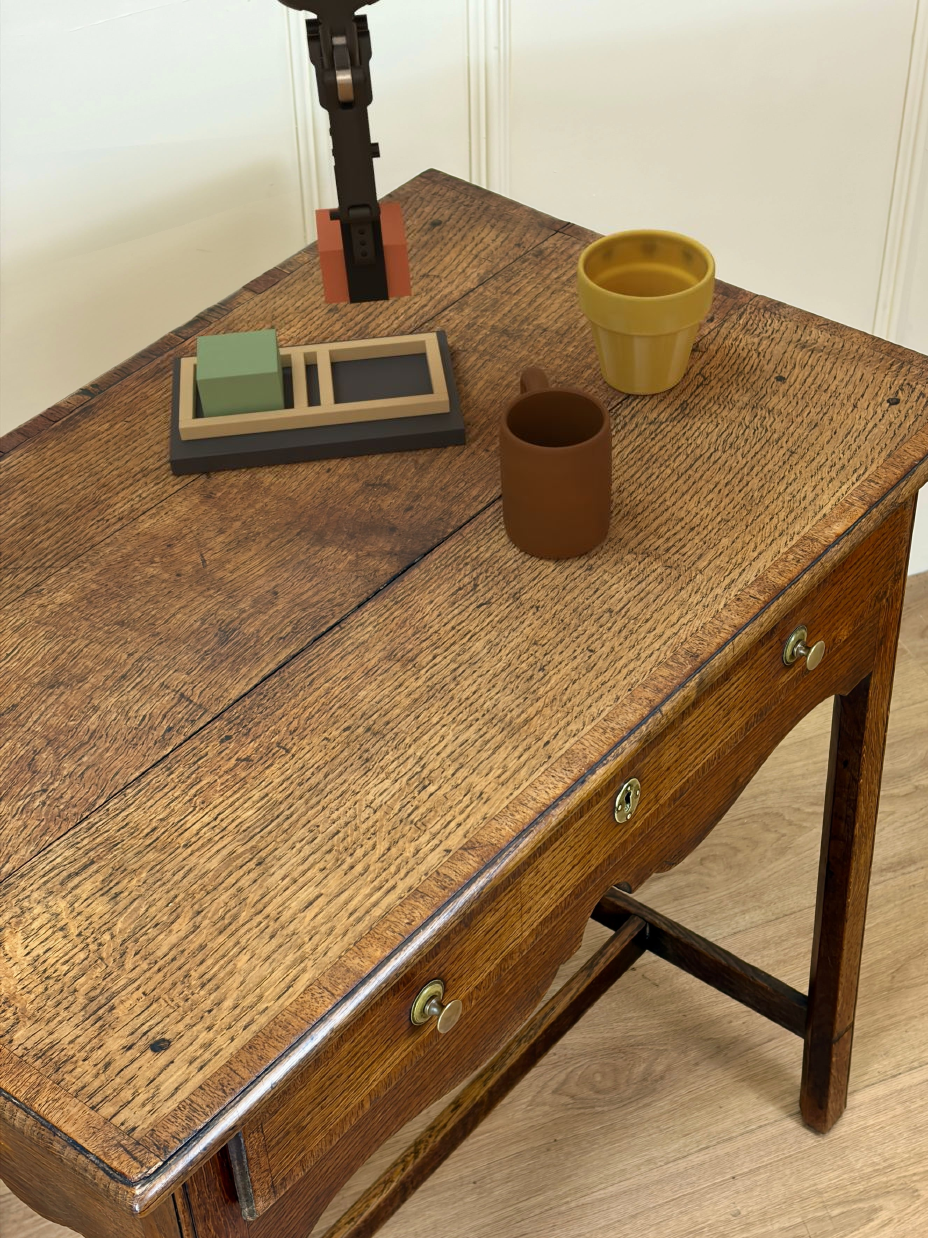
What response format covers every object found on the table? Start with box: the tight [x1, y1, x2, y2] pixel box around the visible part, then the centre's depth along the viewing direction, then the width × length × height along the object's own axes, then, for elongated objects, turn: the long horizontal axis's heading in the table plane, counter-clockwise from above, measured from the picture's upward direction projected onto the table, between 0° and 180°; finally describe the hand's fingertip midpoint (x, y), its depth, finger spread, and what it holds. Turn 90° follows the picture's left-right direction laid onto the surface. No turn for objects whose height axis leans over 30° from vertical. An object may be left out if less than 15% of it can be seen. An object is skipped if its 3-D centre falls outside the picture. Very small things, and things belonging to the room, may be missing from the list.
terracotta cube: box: [314, 201, 412, 305], centre depth 104 cm, size 6×6×4 cm
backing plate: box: [168, 329, 467, 477], centre depth 115 cm, size 22×14×3 cm, turn 98°
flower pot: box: [576, 228, 716, 396], centre depth 115 cm, size 10×10×10 cm
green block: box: [196, 328, 285, 418], centre depth 113 cm, size 6×6×4 cm
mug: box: [498, 365, 613, 560], centre depth 103 cm, size 12×8×9 cm, turn 13°
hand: (366, 274), depth 105 cm, fingers closed on terracotta cube, 6 cm apart
